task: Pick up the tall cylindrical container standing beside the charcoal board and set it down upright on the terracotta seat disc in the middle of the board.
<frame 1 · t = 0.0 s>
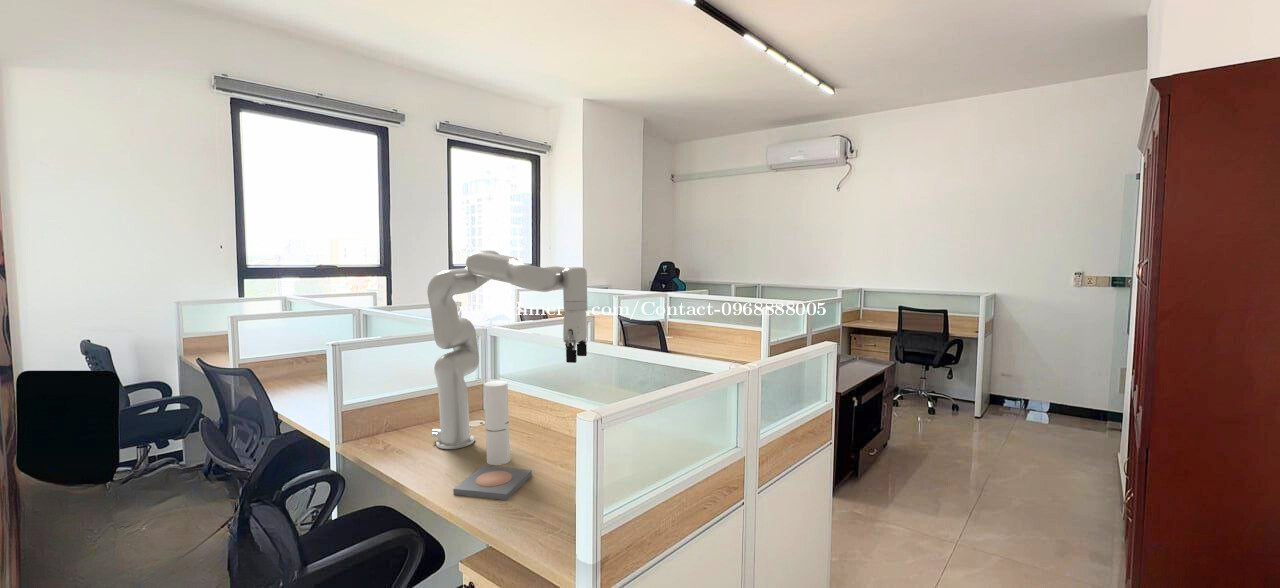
hand: (576, 359, 177), 31 cm above the table, tool pointing down, fingers open, 9 cm apart
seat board: (494, 484, 157), on the table
cylindrical container: (498, 461, 174), on the table
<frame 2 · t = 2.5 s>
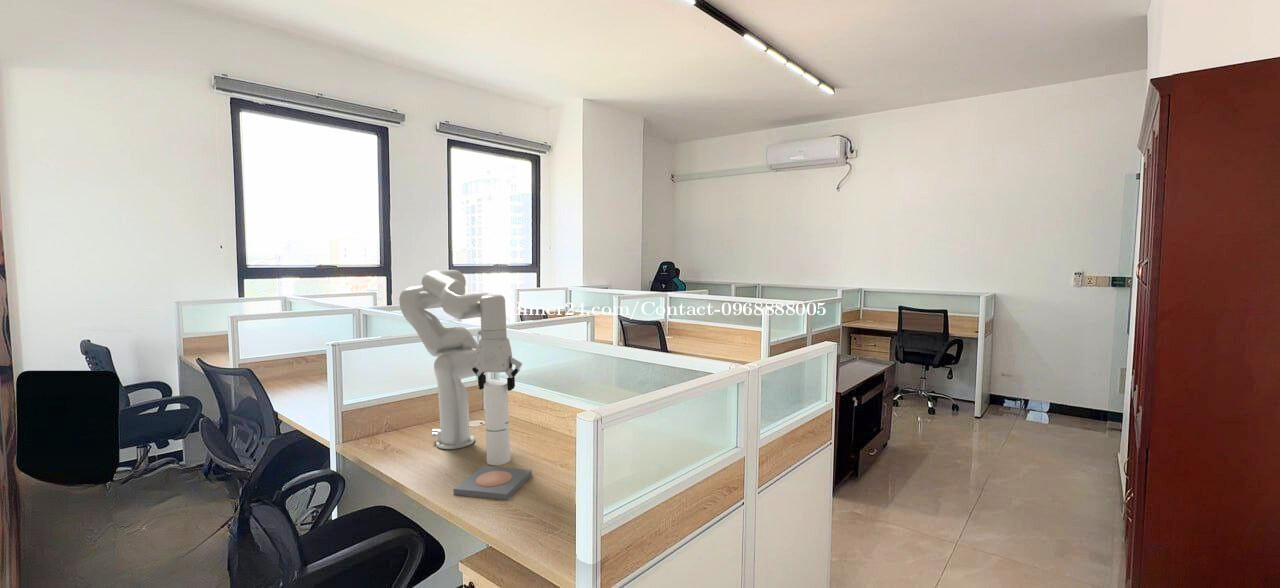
hand: (496, 388, 172), 23 cm above the table, tool pointing down, fingers open, 9 cm apart
nothing on the table moved.
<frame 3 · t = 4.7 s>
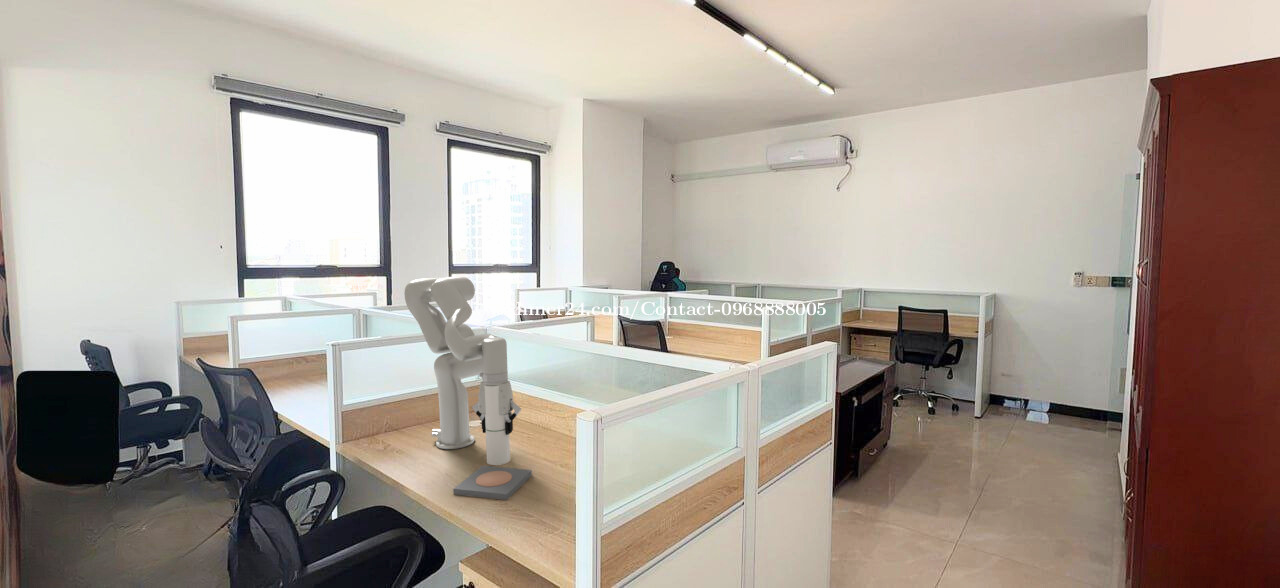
hand: (497, 432, 174), 9 cm above the table, tool pointing down, fingers closed on cylindrical container, 7 cm apart
cylindrical container: (498, 461, 174), on the table, touching gripper
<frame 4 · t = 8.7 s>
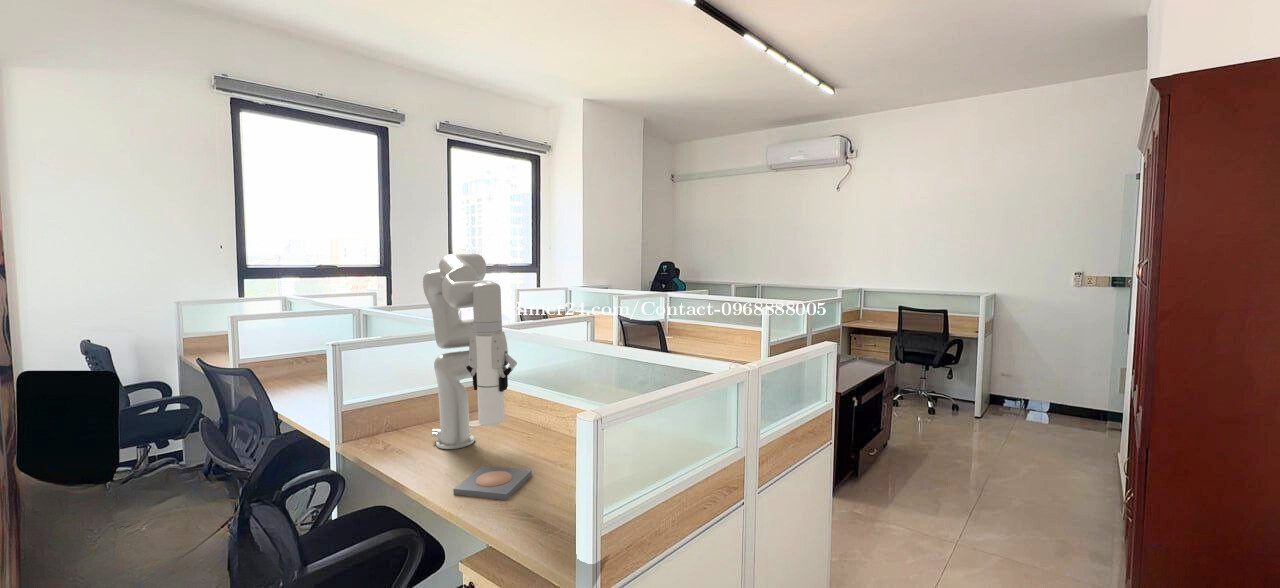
hand: (490, 389, 155), 28 cm above the table, tool pointing down, fingers closed on cylindrical container, 7 cm apart
cylindrical container: (491, 421, 156), point 18 cm above the table, touching gripper
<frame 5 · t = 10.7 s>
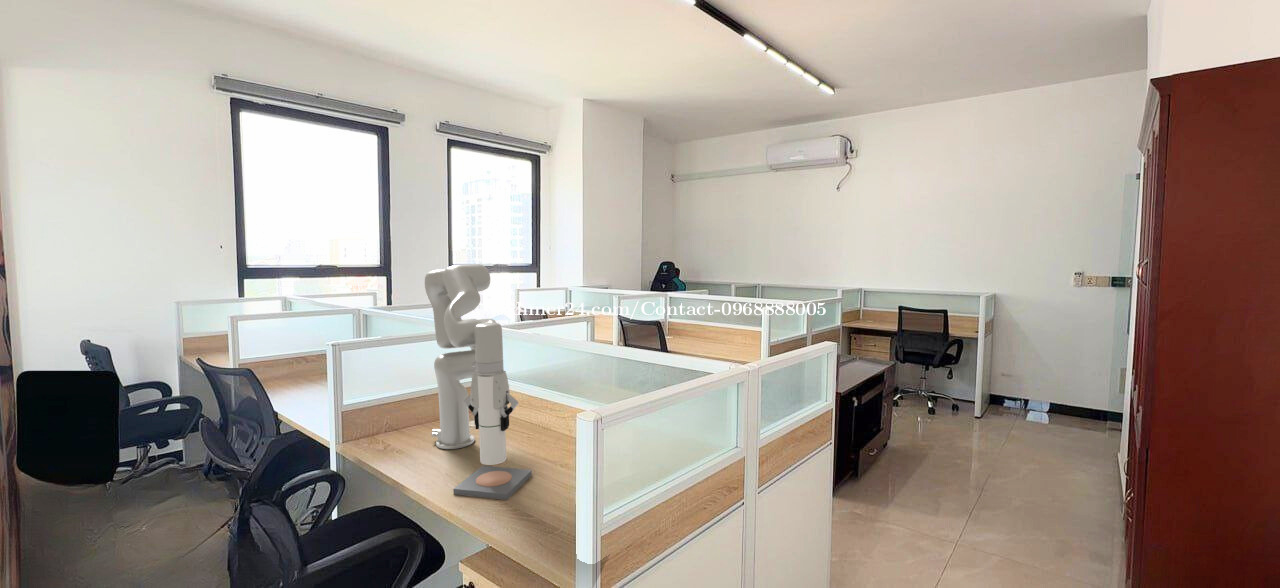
hand: (492, 428, 156), 17 cm above the table, tool pointing down, fingers closed on cylindrical container, 7 cm apart
cylindrical container: (493, 460, 157), point 7 cm above the table, touching gripper
when the fingers open (12 cm above the table, at t = 12.6 s): cylindrical container stays where it is, resting on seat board.
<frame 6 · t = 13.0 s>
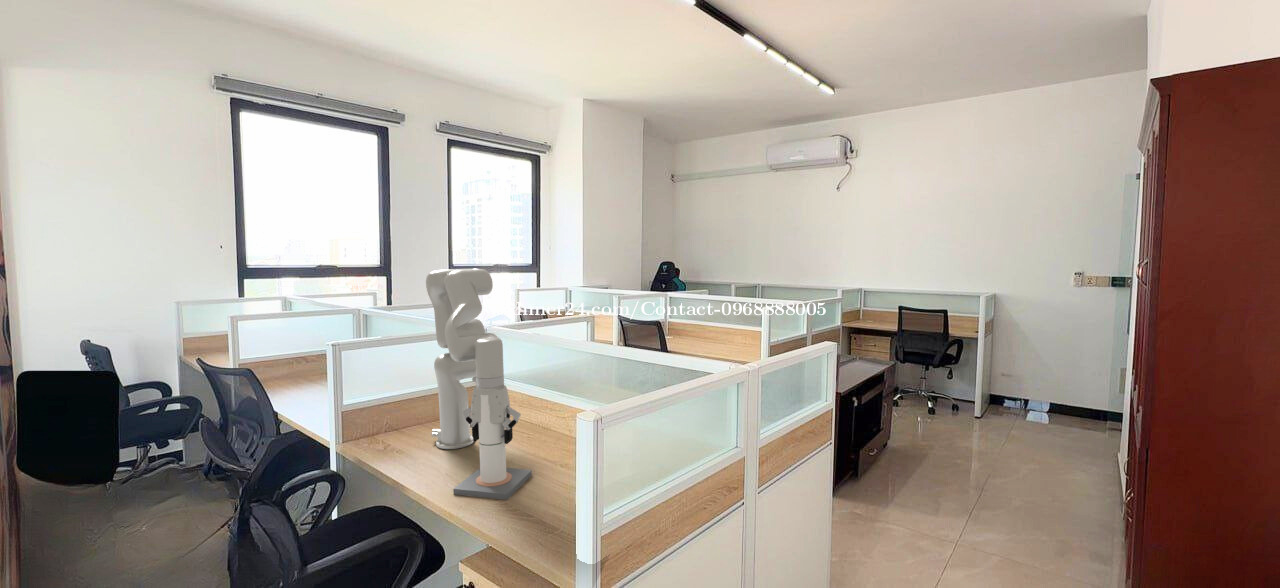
hand: (492, 440, 156), 13 cm above the table, tool pointing down, fingers open, 9 cm apart
cylindrical container: (493, 478, 157), point 2 cm above the table, touching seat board
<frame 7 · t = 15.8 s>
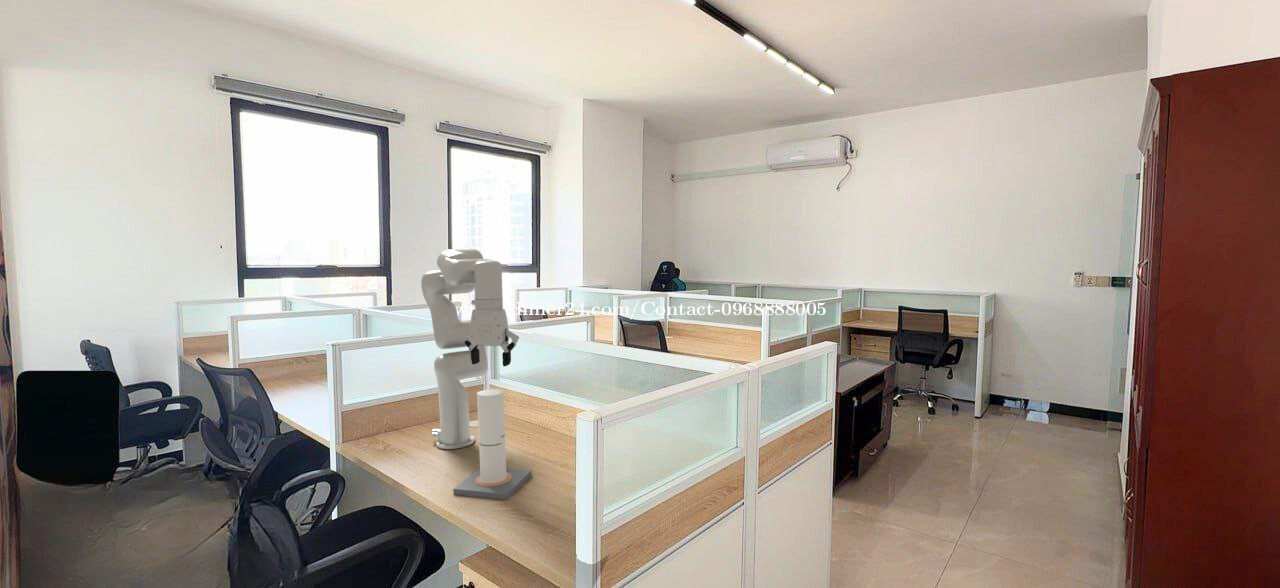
hand: (491, 364, 157), 34 cm above the table, tool pointing down, fingers open, 9 cm apart
nothing on the table moved.
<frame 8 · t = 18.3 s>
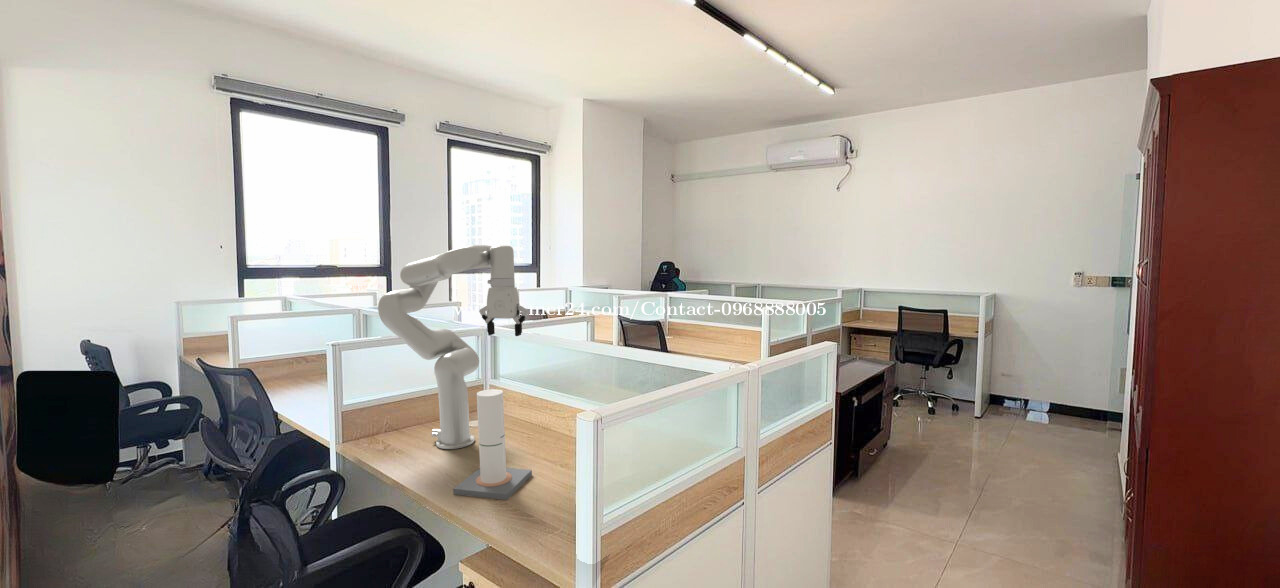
hand: (504, 335, 182), 38 cm above the table, tool pointing down, fingers open, 9 cm apart
nothing on the table moved.
at the end: cylindrical container 0.2 cm off-centre on the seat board, point 1.6 cm above the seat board's base; cylindrical container tilted 1°; the gripper is holding nothing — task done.
